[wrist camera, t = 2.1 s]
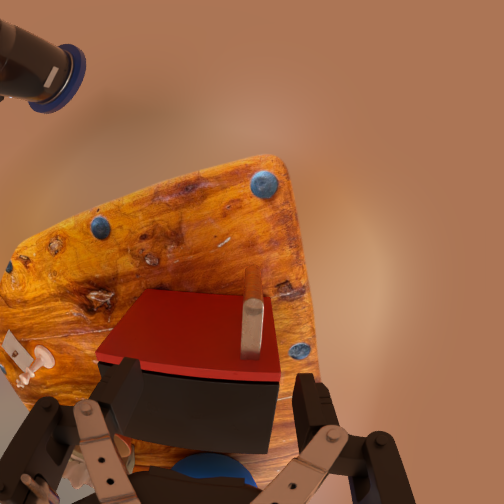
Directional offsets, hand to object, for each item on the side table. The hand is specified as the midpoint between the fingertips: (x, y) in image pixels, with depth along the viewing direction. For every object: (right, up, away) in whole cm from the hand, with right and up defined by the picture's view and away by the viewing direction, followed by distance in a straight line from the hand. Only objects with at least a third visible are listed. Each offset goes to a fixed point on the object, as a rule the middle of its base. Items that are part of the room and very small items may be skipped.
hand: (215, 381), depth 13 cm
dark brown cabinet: (-4, -5, +24) cm, 25 cm away
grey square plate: (-47, -14, +27) cm, 56 cm away
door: (-4, +4, +21) cm, 22 cm away
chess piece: (-37, -13, +26) cm, 47 cm away
